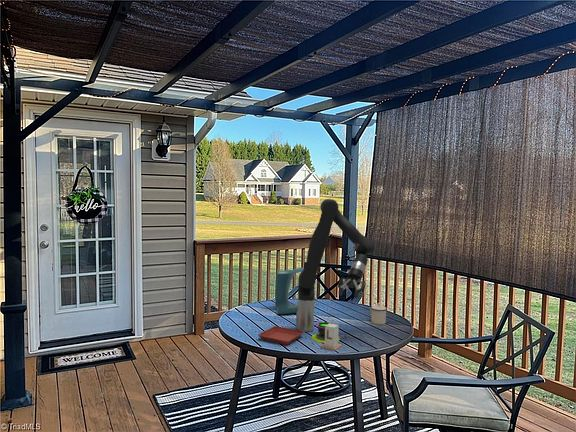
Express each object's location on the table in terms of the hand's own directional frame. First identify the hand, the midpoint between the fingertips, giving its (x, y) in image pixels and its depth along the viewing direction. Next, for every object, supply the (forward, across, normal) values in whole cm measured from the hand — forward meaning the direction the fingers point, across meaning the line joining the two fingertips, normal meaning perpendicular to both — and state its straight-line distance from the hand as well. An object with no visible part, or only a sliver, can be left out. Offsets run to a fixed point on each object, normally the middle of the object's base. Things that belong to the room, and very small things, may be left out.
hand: (347, 296), depth 217 cm
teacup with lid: (-14, +1, +47) cm, 49 cm away
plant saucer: (+29, -29, +5) cm, 42 cm away
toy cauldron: (+19, -10, +15) cm, 26 cm away
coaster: (+26, -2, +8) cm, 27 cm away
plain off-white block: (+25, -2, +7) cm, 26 cm away
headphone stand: (-6, -52, +40) cm, 66 cm away
